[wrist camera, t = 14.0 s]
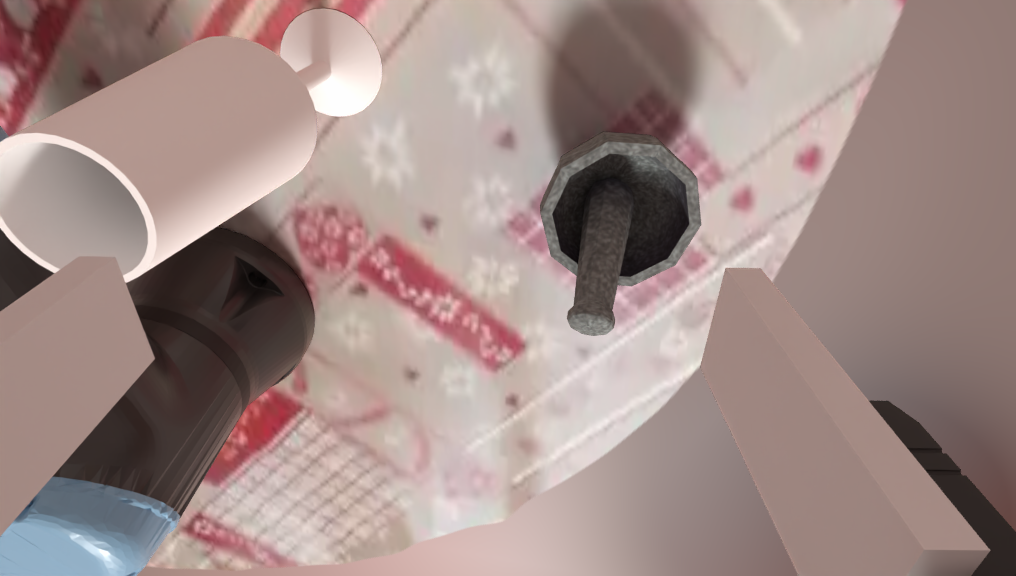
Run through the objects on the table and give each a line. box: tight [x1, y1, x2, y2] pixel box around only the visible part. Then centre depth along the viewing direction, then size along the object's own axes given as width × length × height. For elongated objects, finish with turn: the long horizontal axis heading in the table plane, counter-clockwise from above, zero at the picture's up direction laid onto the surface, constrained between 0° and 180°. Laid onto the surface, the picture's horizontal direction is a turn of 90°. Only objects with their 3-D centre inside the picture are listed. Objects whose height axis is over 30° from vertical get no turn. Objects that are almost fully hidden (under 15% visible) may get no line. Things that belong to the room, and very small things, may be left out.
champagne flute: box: [0, 8, 382, 283], centre depth 26 cm, size 7×7×24 cm
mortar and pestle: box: [540, 132, 701, 336], centre depth 35 cm, size 11×9×12 cm
